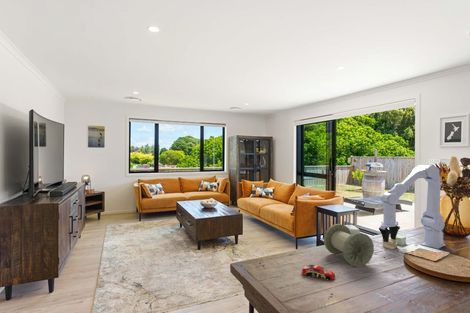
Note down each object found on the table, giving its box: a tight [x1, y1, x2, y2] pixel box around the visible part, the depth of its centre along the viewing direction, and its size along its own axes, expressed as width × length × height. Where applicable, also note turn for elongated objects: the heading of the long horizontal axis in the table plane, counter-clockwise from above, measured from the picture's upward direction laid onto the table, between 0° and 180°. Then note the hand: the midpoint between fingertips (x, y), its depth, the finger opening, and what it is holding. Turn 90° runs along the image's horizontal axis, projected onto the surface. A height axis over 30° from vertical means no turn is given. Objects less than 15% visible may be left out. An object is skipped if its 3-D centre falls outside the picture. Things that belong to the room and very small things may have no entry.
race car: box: [301, 264, 336, 281], centre depth 111 cm, size 13×5×4 cm, turn 64°
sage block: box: [395, 234, 407, 247], centre depth 148 cm, size 5×5×4 cm
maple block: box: [382, 237, 398, 250], centre depth 143 cm, size 5×5×4 cm
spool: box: [323, 223, 375, 268], centre depth 127 cm, size 16×15×15 cm
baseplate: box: [398, 243, 450, 255], centre depth 134 cm, size 16×16×1 cm
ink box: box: [344, 224, 361, 235], centre depth 140 cm, size 9×5×12 cm, turn 179°
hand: (389, 240), depth 142 cm, fingers open, 7 cm apart
